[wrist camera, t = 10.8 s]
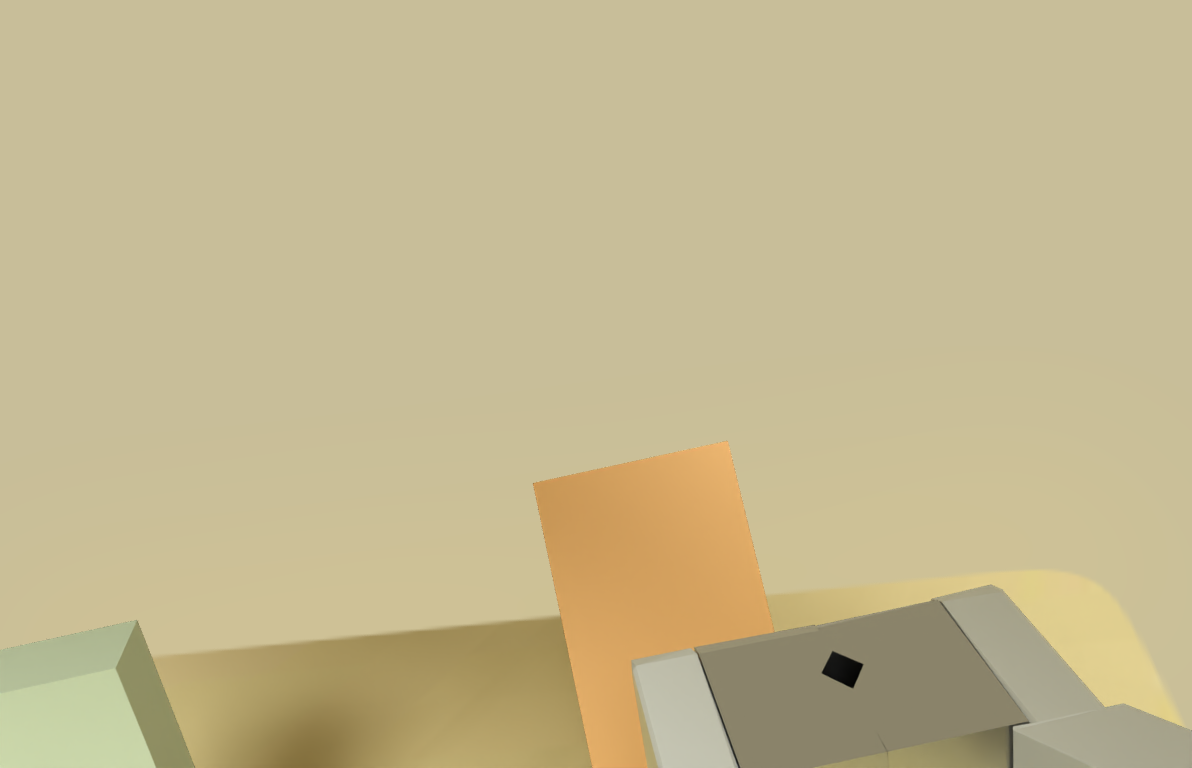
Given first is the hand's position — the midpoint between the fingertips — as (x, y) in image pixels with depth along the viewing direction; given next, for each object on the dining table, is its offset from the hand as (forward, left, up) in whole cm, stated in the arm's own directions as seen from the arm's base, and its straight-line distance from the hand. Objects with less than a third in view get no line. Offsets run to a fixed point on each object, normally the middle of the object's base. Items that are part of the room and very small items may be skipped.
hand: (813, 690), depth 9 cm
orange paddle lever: (-8, +9, -18) cm, 21 cm away
